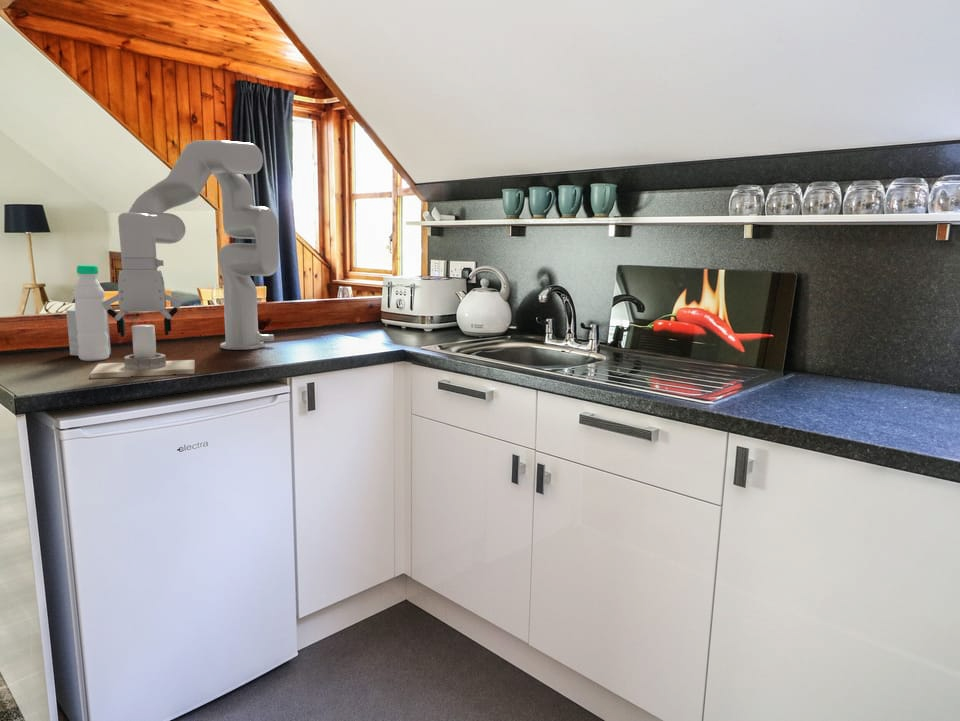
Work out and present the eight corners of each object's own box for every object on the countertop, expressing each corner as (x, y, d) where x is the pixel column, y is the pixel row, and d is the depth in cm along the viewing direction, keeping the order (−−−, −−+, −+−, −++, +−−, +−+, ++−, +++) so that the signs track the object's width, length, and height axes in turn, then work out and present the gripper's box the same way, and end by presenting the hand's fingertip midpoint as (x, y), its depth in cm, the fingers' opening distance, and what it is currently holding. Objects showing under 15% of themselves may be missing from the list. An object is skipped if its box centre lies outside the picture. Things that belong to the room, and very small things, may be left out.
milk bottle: (95, 361, 169) (88, 265, 164) (72, 360, 170) (64, 265, 166) (115, 357, 175) (108, 265, 171) (93, 356, 177) (86, 264, 172)
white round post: (156, 367, 158) (153, 327, 156) (133, 368, 156) (130, 327, 154) (157, 363, 162) (155, 324, 161) (135, 364, 160) (132, 324, 159)
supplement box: (112, 353, 181) (108, 309, 179) (86, 357, 174) (82, 311, 172) (94, 351, 184) (91, 307, 182) (69, 355, 177) (65, 309, 175)
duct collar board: (194, 364, 169) (194, 350, 169) (194, 373, 157) (193, 358, 157) (99, 368, 161) (97, 353, 160) (90, 378, 149) (89, 362, 148)
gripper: (179, 264, 161) (184, 331, 165) (100, 264, 155) (107, 334, 158) (178, 266, 155) (183, 336, 158) (96, 266, 148) (102, 339, 151)
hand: (145, 335), depth 158 cm, fingers open, 9 cm apart
